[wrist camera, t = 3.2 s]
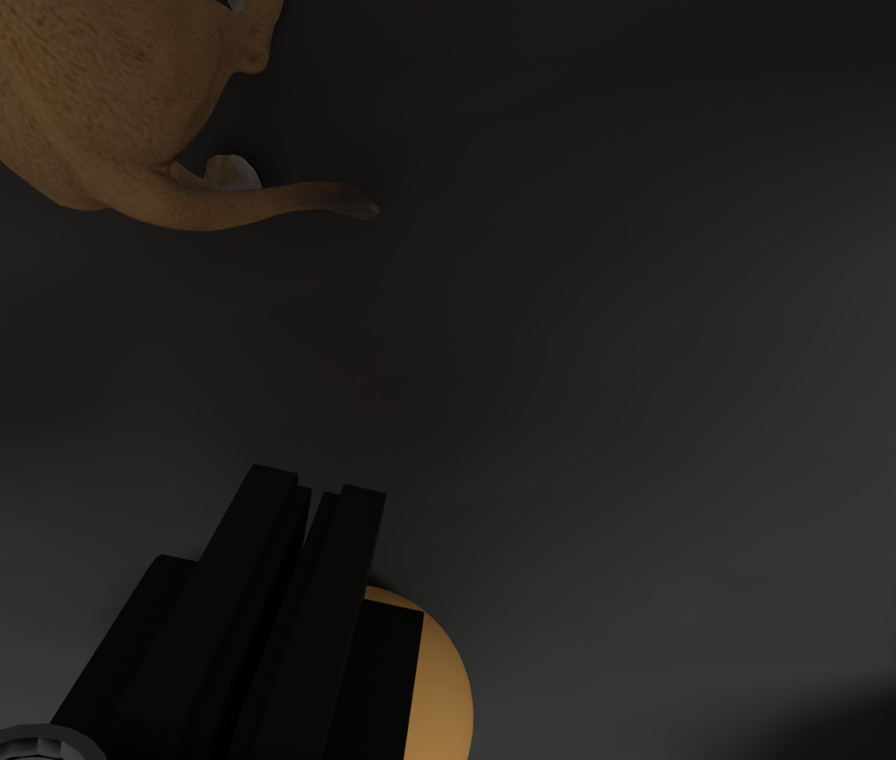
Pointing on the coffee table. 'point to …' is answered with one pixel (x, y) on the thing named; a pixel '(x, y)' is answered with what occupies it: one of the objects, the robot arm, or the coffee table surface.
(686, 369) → the coffee table surface
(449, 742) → the ball
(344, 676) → the robot arm
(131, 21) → the lion figurine
